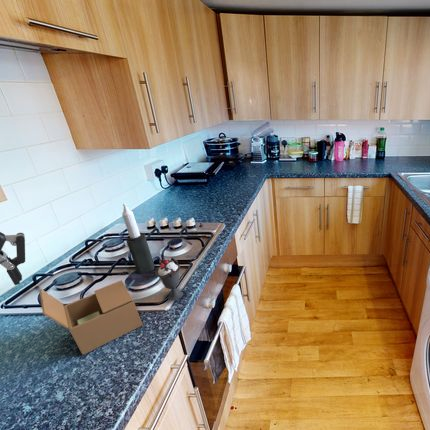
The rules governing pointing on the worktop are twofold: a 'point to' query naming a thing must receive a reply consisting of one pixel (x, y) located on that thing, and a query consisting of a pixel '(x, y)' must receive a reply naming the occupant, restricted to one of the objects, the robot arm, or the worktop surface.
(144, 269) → the candle
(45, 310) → the carton flap
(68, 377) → the worktop surface
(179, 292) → the sundae
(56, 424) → the worktop surface
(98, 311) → the block
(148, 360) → the worktop surface
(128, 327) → the carton
